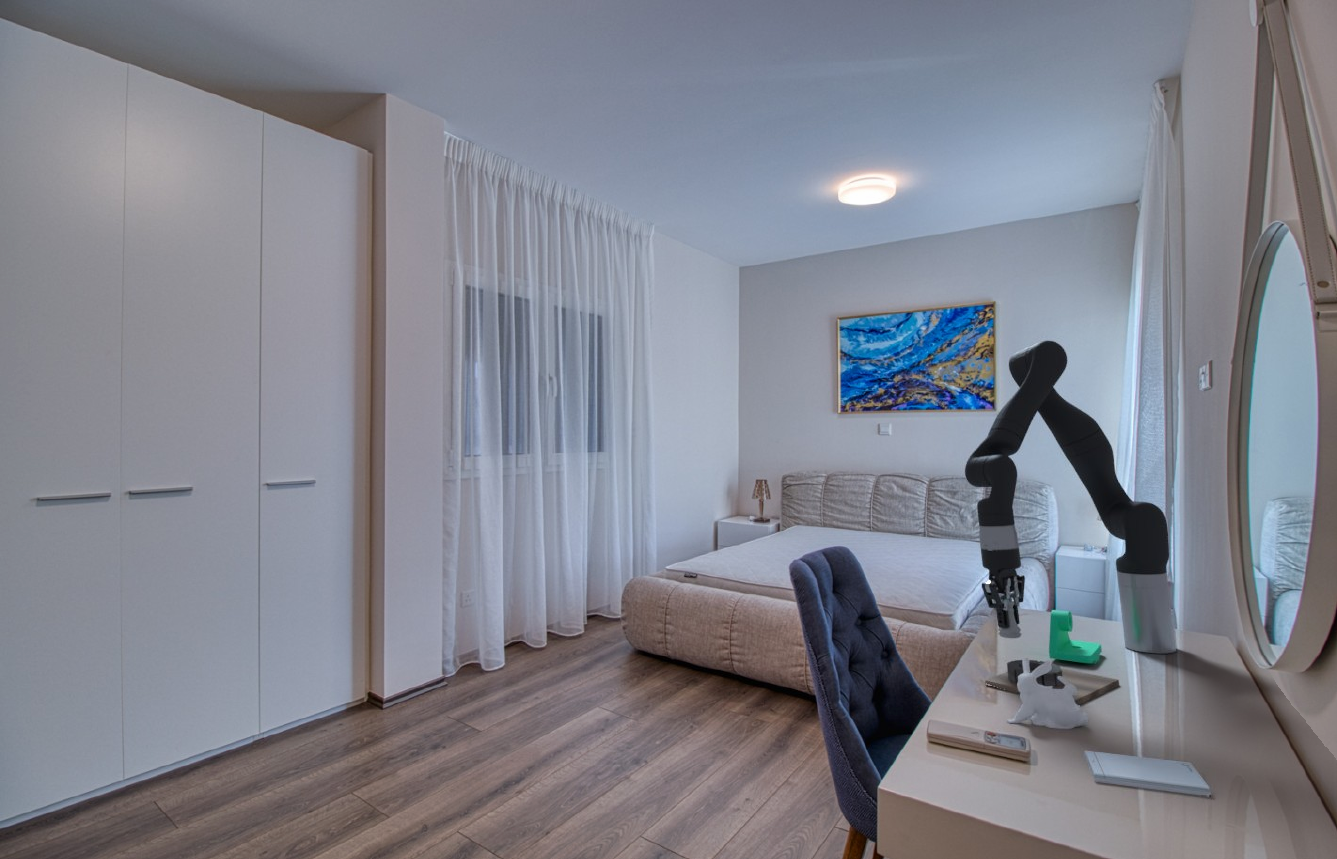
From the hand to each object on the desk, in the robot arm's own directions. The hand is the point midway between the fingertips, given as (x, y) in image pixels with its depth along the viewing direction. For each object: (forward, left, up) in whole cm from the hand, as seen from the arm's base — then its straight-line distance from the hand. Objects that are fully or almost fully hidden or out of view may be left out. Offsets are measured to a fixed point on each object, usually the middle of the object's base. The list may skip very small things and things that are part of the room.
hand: (1008, 625), depth 135 cm
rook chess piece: (0, 0, -2) cm, 2 cm away
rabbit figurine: (+25, +19, -9) cm, 33 cm away
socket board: (+7, +11, -8) cm, 16 cm away
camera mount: (-14, +6, -9) cm, 18 cm away
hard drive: (+35, +37, -9) cm, 52 cm away
